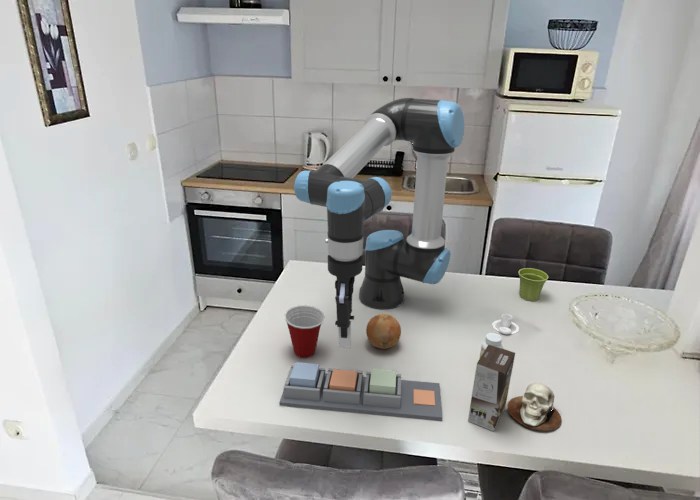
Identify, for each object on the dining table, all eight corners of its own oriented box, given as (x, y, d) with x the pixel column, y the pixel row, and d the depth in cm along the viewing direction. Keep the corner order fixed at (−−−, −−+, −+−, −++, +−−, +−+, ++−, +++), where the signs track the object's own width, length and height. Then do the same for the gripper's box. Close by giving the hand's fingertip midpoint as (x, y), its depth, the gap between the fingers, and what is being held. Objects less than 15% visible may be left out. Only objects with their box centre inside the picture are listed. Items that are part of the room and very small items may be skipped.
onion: (393, 333, 143) (395, 304, 139) (404, 353, 134) (407, 322, 130) (361, 337, 141) (362, 308, 137) (371, 358, 132) (372, 327, 128)
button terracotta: (357, 381, 120) (357, 371, 119) (354, 397, 115) (354, 387, 114) (333, 378, 121) (333, 369, 120) (329, 395, 116) (329, 385, 114)
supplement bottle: (481, 373, 127) (485, 342, 123) (476, 360, 132) (480, 331, 128) (501, 373, 127) (507, 343, 123) (496, 361, 132) (501, 331, 128)
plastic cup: (314, 368, 128) (314, 329, 123) (278, 358, 131) (276, 320, 127) (331, 345, 137) (331, 309, 132) (297, 337, 141) (295, 301, 136)
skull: (557, 440, 105) (530, 399, 106) (518, 446, 112) (493, 407, 113) (574, 408, 113) (549, 371, 114) (536, 416, 121) (513, 380, 121)
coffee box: (494, 432, 108) (505, 374, 101) (466, 421, 111) (475, 363, 105) (506, 408, 115) (516, 352, 109) (479, 398, 118) (488, 343, 112)
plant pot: (527, 287, 171) (531, 265, 167) (549, 299, 163) (554, 276, 160) (508, 294, 166) (512, 271, 162) (531, 306, 159) (535, 283, 155)
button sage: (395, 380, 119) (396, 370, 118) (394, 397, 114) (395, 387, 112) (371, 378, 120) (371, 368, 118) (369, 394, 114) (369, 384, 113)
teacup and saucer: (508, 339, 142) (510, 327, 140) (485, 328, 147) (486, 316, 146) (524, 329, 147) (526, 317, 146) (501, 318, 153) (503, 307, 151)
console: (439, 386, 122) (440, 373, 120) (441, 420, 111) (443, 407, 109) (290, 373, 126) (290, 360, 124) (279, 405, 115) (278, 392, 113)
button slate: (319, 374, 121) (319, 364, 120) (314, 390, 116) (314, 379, 114) (295, 372, 122) (295, 362, 120) (290, 387, 116) (289, 377, 115)
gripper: (332, 241, 110) (332, 328, 120) (322, 266, 98) (324, 361, 108) (365, 243, 109) (363, 331, 119) (359, 269, 97) (357, 364, 107)
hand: (344, 345), depth 113 cm, fingers closed
